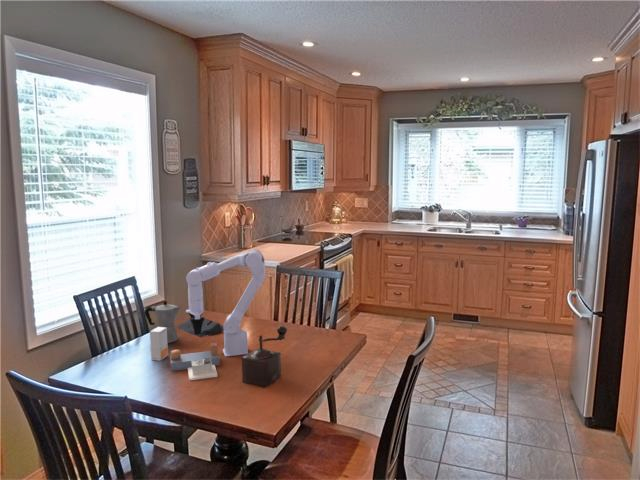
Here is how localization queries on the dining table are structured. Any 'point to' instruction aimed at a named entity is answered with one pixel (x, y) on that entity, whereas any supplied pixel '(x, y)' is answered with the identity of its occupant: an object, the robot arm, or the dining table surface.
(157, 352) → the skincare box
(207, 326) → the dark slate chunk
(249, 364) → the manual coffee grinder
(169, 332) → the coffeepot
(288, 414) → the dining table surface
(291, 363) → the dining table surface
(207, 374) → the tile
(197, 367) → the lever cap
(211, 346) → the plane body
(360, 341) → the dining table surface
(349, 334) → the dining table surface
